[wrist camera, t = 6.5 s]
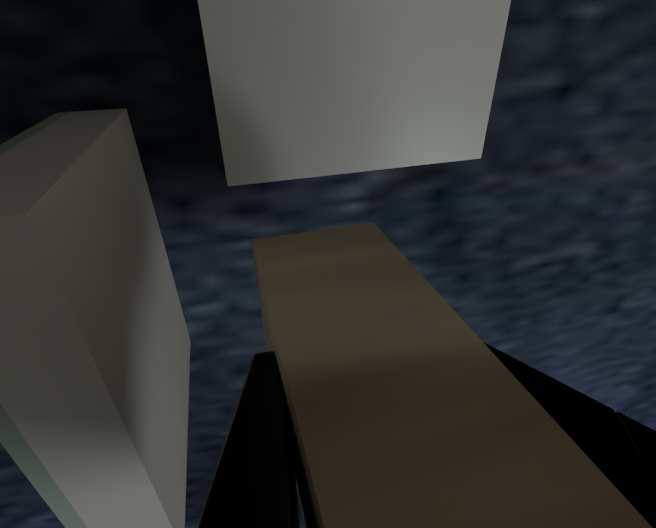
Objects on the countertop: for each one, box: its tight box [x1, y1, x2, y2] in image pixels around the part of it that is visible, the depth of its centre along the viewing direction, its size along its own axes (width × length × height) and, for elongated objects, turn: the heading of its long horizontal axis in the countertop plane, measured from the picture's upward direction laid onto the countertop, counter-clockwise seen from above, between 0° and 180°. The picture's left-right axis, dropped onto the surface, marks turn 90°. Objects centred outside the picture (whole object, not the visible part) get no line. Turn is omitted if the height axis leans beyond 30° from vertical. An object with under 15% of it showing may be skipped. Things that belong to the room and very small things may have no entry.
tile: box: [0, 108, 190, 528], centre depth 9 cm, size 8×2×7 cm, turn 1°
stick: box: [252, 223, 653, 528], centre depth 6 cm, size 3×3×9 cm
